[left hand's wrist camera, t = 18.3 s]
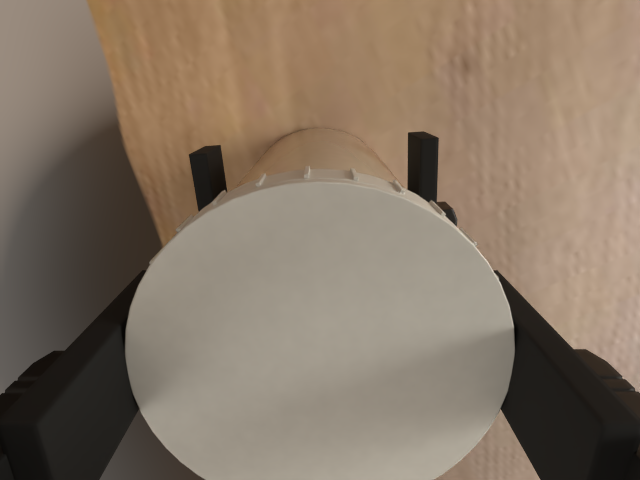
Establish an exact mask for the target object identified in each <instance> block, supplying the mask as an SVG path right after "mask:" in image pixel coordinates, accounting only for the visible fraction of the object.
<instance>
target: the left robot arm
mask: <svg viewBox="0 0 640 480" xmlns="http://www.w3.org/2000/svg"><path fill="white" fill-rule="evenodd" d="M146 271H147V270H143V271H142V272H141V273H140V274H139V275H138V276H137V277H136V278H135V279H134V280H133V281H132V282H131V283H130V284H129V285H128V286H127V287H126V288H125V289H124V290H123V291H122V292H121V293H120V294H119V295H118V296H117V297H116V298H115V299H114V300H113V302H112V303H111V304H110V305H109V306H108V307H107V308H106V309H105V310H104V311H103V312H102V313H101V314H100V315H99V316H98V317H97V318H96V319H95V320H94V321H93V322H92V323H91V324H90V325H89V326H88V327H87V328H86V329H85V330H84V332H83V333H82V334H81V335H80V336H79V337H78V338H77V339H76V340H75V341H74V342H73V343H72V344H71V345H70V346H69V347H68V348H67V349H66V350H65V351H53V352H51V353H50V354H48V355H46V356H45V357H43V358H41V359H39V360H38V361H36V362H34V363H33V364H32V365H31V366H30V367H29V368H28V369H27V370H26V371H25V372H24V373H23V374H21V375H20V376H19V377H18V380H17V381H14V382H13V383H12V384H11V385H10V386H9V387H8V388H7V389H6V390H5V393H2V394H1V395H0V480H99V479H100V477H101V475H102V474H103V472H104V470H105V468H106V467H107V465H108V463H109V461H110V459H111V458H112V456H113V454H114V452H115V450H116V449H117V447H118V445H119V443H120V442H121V440H122V438H123V436H124V435H125V433H126V431H127V429H128V427H129V426H130V424H131V422H132V420H133V418H134V417H135V415H136V413H137V411H138V410H139V407H138V405H137V402H136V400H135V398H134V395H133V393H132V389H131V385H130V380H129V375H128V370H127V364H126V358H125V331H126V325H127V320H128V315H129V310H130V306H131V303H132V301H133V298H134V295H135V293H136V290H137V287H138V285H139V283H140V281H141V280H142V278H143V276H144V274H145V273H146ZM493 271H494V273H495V274H496V275H497V276H498V278H499V281H500V283H501V285H502V288H503V291H504V293H505V296H506V298H507V301H508V303H509V306H510V311H511V316H512V320H513V325H514V337H515V356H514V362H513V368H512V373H511V378H510V383H509V388H508V392H507V395H506V397H505V399H504V402H503V404H502V406H501V410H502V412H503V414H504V415H505V417H506V419H507V421H508V423H509V424H510V426H511V428H512V430H513V431H514V433H515V435H516V437H517V439H518V440H519V442H520V444H521V446H522V447H523V449H524V451H525V453H526V455H527V456H528V458H529V460H530V462H531V463H532V465H533V467H534V469H535V471H536V472H537V474H538V476H539V478H540V480H640V393H639V392H636V391H635V388H634V387H633V386H632V385H631V384H630V383H629V382H628V381H626V380H625V379H622V376H621V375H620V374H619V373H618V372H617V371H616V370H615V369H614V368H613V367H612V366H611V365H610V364H609V363H608V362H606V361H605V360H603V359H601V358H600V357H598V356H596V355H595V354H593V353H591V352H589V351H588V350H586V349H573V348H572V347H571V346H570V345H569V344H568V343H567V342H566V341H565V340H564V339H563V338H562V337H561V336H560V335H559V334H558V333H557V332H556V331H555V330H554V329H553V328H552V327H551V326H550V325H549V324H548V322H547V321H546V320H545V319H544V318H543V317H542V316H541V315H540V314H539V313H538V312H537V311H536V310H535V309H534V308H533V307H532V306H531V305H530V304H529V303H528V302H527V301H526V300H525V299H524V298H523V297H522V296H521V295H520V294H519V292H518V291H517V290H516V289H515V288H514V287H513V286H512V285H511V284H510V283H509V282H508V281H507V280H506V279H505V278H504V277H503V276H502V275H501V274H500V273H499V272H498V271H497V270H493Z"/></svg>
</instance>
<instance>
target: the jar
mask: <svg viewBox="0 0 640 480" xmlns="http://www.w3.org/2000/svg"><path fill="white" fill-rule="evenodd" d="M305 166H310V169H333V170H346V171H350V169H351V168H354V169H355V170H356V172H357V173H362V174H367V175H371V176H374V177H377V178H380V179H383V180H386V181H389V182H393V180H396V181H397V182H398V183H399V184H400V185H401V186H402V184H401V183H400V182H399V181H398V180H397V179H396V177H395V176H394V175H393V174H392V173H391V171H390V170H389V169H388V168H387V167H386V165H385V164H384V163H383V162H382V161H381V159H380V158H379V157H378V156H377V155H376V154H375V153H374V151H373V150H372V149H371V148H370V147H369V146H367V145H366V144H365V143H364V142H362V141H361V140H359V139H358V138H356V137H354V136H352V135H350V134H348V133H346V132H342V131H339V130H335V129H328V128H312V129H305V130H301V131H297V132H294V133H292V134H290V135H287V136H286V137H284V138H282V139H280V140H279V141H277V142H276V143H275V144H274V145H272V146H271V147H270V148H269V149H268V150H267V151H266V152H265V153H264V154H263V156H262V157H261V158H260V159H259V160H258V161H257V163H256V164H255V165H254V166H253V167H252V169H251V170H250V171H249V172H248V173H247V175H246V176H245V177H244V178H243V179H242V181H241V182H240V183H239V184H238V185H237V187H239V186H241V185H243V184H245V183H248V182H251V181H254V180H257V179H259V177H260V176H261V174H264V173H265V174H266V176H269V175H274V174H278V173H283V172H288V171H293V170H305ZM237 187H236V188H237ZM402 187H403V186H402ZM403 188H404V187H403Z"/></svg>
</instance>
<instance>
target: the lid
mask: <svg viewBox="0 0 640 480" xmlns="http://www.w3.org/2000/svg"><path fill="white" fill-rule="evenodd" d="M445 215H446V214H445V213H444V212H443V211H442V210H441V209H440V208H439V207H438V206H437V205H436V204H435V203H434V202H433V201H432V200H431V201H430V202H429V203H428V202H427V201H426V200H424V199H423V198H421V197H420V196H418V195H417V194H415V193H413V192H411V191H409V190H407V189H405V188H403V187H402V186H401V185H400V184H399V183H398V182H397V181H396V180H393V182H389V181H386V180H383V179H380V178H377V177H374V176H371V175H367V174H362V173H357V172H356V170H355V169H354V168H351V169H350V171H346V170H333V169H310V166H305V170H293V171H288V172H283V173H278V174H274V175H269V176H266V174H265V173H264V174H261V176H260V177H259V179H257V180H254V181H251V182H248V183H245V184H243V185H241V186H239V187H237V188H235V189H233V190H231V191H229V192H226V191H225V190H224V191H222V192H221V193H220V194H219V195H218V196H217V197H216V198H215V199H214V200H213V201H212V202H211V203H210V204H209V205H207V206H206V207H204V208H203V209H202V210H201V211H199V212H198V213H197V214H196V215H195V216H193V215H190V216H189V217H188V218H187V219H186V220H185V221H184V222H183V223H182V224H181V225H180V226H179V227H178V228H177V229H176V231H177V232H178V233H177V234H176V235H175V236H174V237H173V238H172V239H171V240H170V241H169V242H168V243H167V244H166V245H165V246H164V247H163V248H162V249H161V250H160V251H159V252H158V253H157V254H156V256H154V258H153V259H152V260H151V261H150V262H149V264H150V266H149V267H148V269H147V271H146V273H145V274H144V276H143V278H142V280H141V281H140V283H139V285H138V287H137V290H136V293H135V295H134V298H133V301H132V303H131V306H130V310H129V315H128V320H127V325H126V331H125V358H126V364H127V370H128V375H129V380H130V385H131V389H132V393H133V395H134V398H135V400H136V402H137V405H138V407H139V409H140V411H141V413H142V415H143V417H144V418H145V420H146V422H147V423H148V425H149V426H150V428H151V430H152V431H153V432H154V434H155V435H156V436H157V437H158V439H159V440H160V441H161V442H162V444H163V445H164V446H165V447H166V448H167V449H168V450H169V451H170V452H171V453H172V454H173V455H174V456H175V457H176V458H177V459H178V460H179V461H180V462H182V463H183V464H184V465H185V466H187V467H188V468H189V469H191V470H192V471H193V472H195V473H196V474H197V475H199V476H200V477H202V478H204V479H206V480H434V479H436V478H437V477H439V476H441V475H442V474H444V473H445V472H446V471H448V470H449V469H450V468H452V467H453V466H454V465H455V464H457V463H458V462H459V461H461V460H462V459H463V458H464V457H465V456H466V455H467V454H468V453H469V452H470V451H471V450H472V449H473V448H474V447H475V446H476V445H477V443H478V442H479V441H480V440H481V438H482V437H483V436H484V435H485V433H486V432H487V431H488V429H489V428H490V426H491V424H492V423H493V421H494V419H495V418H496V416H497V414H498V413H499V411H500V409H501V406H502V404H503V402H504V399H505V397H506V395H507V392H508V388H509V383H510V378H511V373H512V368H513V362H514V356H515V337H514V325H513V320H512V316H511V311H510V306H509V303H508V301H507V298H506V296H505V293H504V291H503V288H502V285H501V283H500V281H499V278H498V276H497V275H496V274H495V273H494V271H493V269H492V268H491V266H490V264H489V263H488V261H487V260H486V259H485V258H484V256H483V255H482V254H481V253H480V252H479V250H478V249H477V248H476V247H475V246H477V245H478V244H477V243H476V242H475V241H474V240H473V239H472V238H471V237H470V236H469V235H468V234H467V233H466V232H465V231H464V230H463V229H462V228H460V229H458V228H457V227H456V226H455V225H454V224H453V223H452V222H451V221H450V220H449V219H448V218H447V217H446V216H445Z"/></svg>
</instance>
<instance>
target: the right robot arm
mask: <svg viewBox="0 0 640 480" xmlns="http://www.w3.org/2000/svg"><path fill="white" fill-rule="evenodd" d="M438 140H439V138H438V137H435V136H433V135H431V134H428V133H426V132H410V133H408V190H409V191H411V192H413V193H415V194H417V195H418V196H420V197H421V198H423V199H424V200H426V201H427V202H428V203H429V202H430V201H431V200H432V201H433V202H434V203H435V204H436V205H437V206H438V207H439V208H440V209H441V210H442V211H443V212H444V213H445V214H446V215H445V216H446V217H447V218H448V219H449V220H450V221H451V222H452V223H453V224H454V225H455V226H456V227H457V218H456V215H455V212H454V210H453V209H452V208H451V207H450V206H449V205H448V204H447V203H446V202H437V172H438ZM189 158H190V164H191V169H192V175H193V181H194V187H195V193H196V199H197V204H198V210H199V211H201V210H202V209H203V208H204V207H206V206H207V205H209V204H210V203H211V202H212V201H213V200H214V199H215V198H216V197H217V196H218V195H219V194H220V193H221V192H222V191H224V190H225V191H226V192H227V187H226V180H225V173H224V166H223V159H222V153H221V146H220V145H216V146H205V147H203V148H201V149H199V150H197V151H195V152H193V153H191V154H189Z"/></svg>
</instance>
